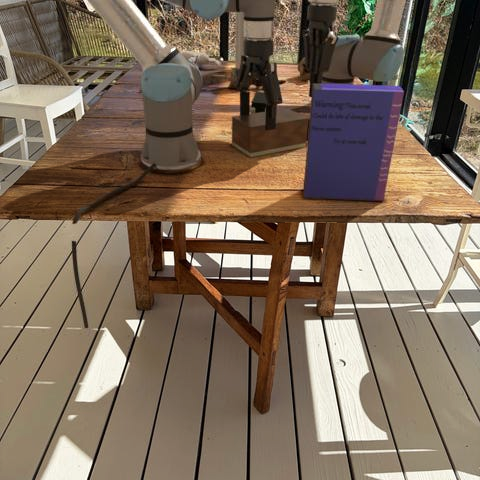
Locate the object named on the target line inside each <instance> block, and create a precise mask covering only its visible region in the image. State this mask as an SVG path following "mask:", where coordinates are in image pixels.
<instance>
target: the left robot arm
mask: <svg viewBox="0 0 480 480" xmlns="http://www.w3.org/2000/svg"><path fill="white" fill-rule="evenodd" d="M86 1H87V2H88V3H89V4H90V6H91V7H92V8H93V10H94V11H95V12H96V13H97V14H98V16H99V17H100V18H101V19H102V20H103V21H104V23H105V24H106V26H107V27H109V29H110V31H112V32H113V33H114V35H115V36H116V37H117V38H118V40H119V41H120V43H122V44H123V45H124V47H125V48H126V50H127V51H128V52H129V53H130V54H131V55H132V57H133V58H134V59H135V60H136V61H137V63H138V64H139V65H140V66H141V69H142V72H141V77H140V78H141V79H140V81H141V82H140V90H141V94H142V105H143V115H144V125H145V138H144V142H143V146H142V150H141V154H140V162H141V166H142V168H144V169H145V170H144V171H143V172H142V173H141V174H140V175H139V176H138V177H137V178H136V179H135V180H133V181H131V182H130V183H127V184H125V185H123V186H119V187H117V188H115V189H113V190H111V191H109V192H108V193H106V194H105V195H103V196H102V197H100V198H98V199H97V200H96V201H94V202H92V203H90V204H88V205H85V206H83V207H81V208H80V209H79V210H78V211H77V212H76V214H75V216H74V217H73V221H72V225H76V224H77V223H78V222H79V219H80V218H81V216H82V215H83V213H85V212H87V211H88V210H91V209H93V208H95V207H98V206H99V205H100V204H102V203H103V202H104V201H106V200H107V199H109V198H111V197H112V196H114V195H116V194H118V193H120V192H123V191H125V190H127V189H130V188H132V187H135V186H136V185H137V184H139V183H140V182H141V181H142V180H143V179H144V178H145V177H146V176H147V175H148V174H149V173H150V172H151V173H156V174H163V175H164V174H165V175H169V174H170V175H172V174H173V175H175V174H182V173H187V172H190V171H193V170H195V169H197V168H198V167H199V166H201V163H202V154H201V151H200V149H199V146H198V143H197V141H196V137H195V135H194V130H193V129H194V126H193V105H194V104H195V103H196V101H197V100H198V99H199V97H200V95H201V93H202V89H203V76H202V73H201V71H200V69H199V67H197V64H196V63H195V64H194V63H193V62H192V61H190V60H188V59H185V57H184V56H183V55H182V54H181V52H182V51H180V50H179V48H178V47H177V46H175V45H169V44H167V42H165V40H164V39H163V37H162V36H161V35H160V34H159V33H158V31H157V30H156V29H155V28H154V26H153V24H151V22H150V21H149V20H148V18H147V17H146V16H145V15H144V13H142V10H140V9H139V7H138V6H137V5H136V3H135V2H134V0H86ZM159 1H161V2H163V3H166V4H169V5H172V6H174V7H177V8H180V9H183V10H186V11H188V12H190V13H193V14H195V15H196V16H197V17H198V18H199V19H202V20H205V21H213V20H216V19H217V18H220V17H221V16H222V15H223V14H225V13H236V12H244V34H243V36H244V37H245V38H246V39H245V40H244V55H242V56H241V64H240V68H239V72H238V76H237V80H236V84H235V87H236V88H235V89H237V90H238V92H239V115H246V114H250V111H251V92H250V91H251V89H250V87H251V86H252V85H251V84H252V82H253V80H254V78H255V77H256V78H257V79H258V81H259V82H261V85H262V86H261V89H262V90H263V91H262V92H264V94H265V96H266V99H267V102H268V103H267V104H266V119H265V130H273V129H276V113H277V110H278V105H281V104H283V96H282V91H281V87H280V86H281V85H279V81H278V80H279V76H278V66H277V65H278V64H277V62H270V63H269V57H270V56H273V55H274V45H275V43H274V40H273V39H272V38H274V35H275V29H274V28H275V9H276V0H159ZM270 58H271V57H270ZM77 252H78V251H77V241H76V240H71V257H72V269H73V276H74V282H75V287H76V292H77V298H78V302H79V306H80V311H81V315H82V321H83V327H84V329H88V328H89V322H88V317H87V316H88V315H87V311H86V304H85V301H84V296H83V291H82V287H81V281H80V273H79V265H78V255H77Z"/></svg>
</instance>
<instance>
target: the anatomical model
mask: <svg viewBox="0 0 480 480" xmlns="http://www.w3.org/2000/svg"><path fill="white" fill-rule="evenodd" d="M309 64H310V63H309ZM297 71H298V72H299V76H300V77H301V79H302V81H306V82H308V80H310V71H309V69H308V68H306V67H305V56H304V57H303V58H301V60H300V61H299V62H298V64H297Z"/></svg>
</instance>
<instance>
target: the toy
mask: <svg viewBox="0 0 480 480" xmlns="http://www.w3.org/2000/svg"><path fill="white" fill-rule="evenodd" d="M180 52H181V54H182V55H183V56H184V57H185V59H188V60H190V61H192V62H193V63H194V64H195V65H196V66H198V68H200V69H201V68H204V65H209V64H210V63H211V64H215V65H216V66H218V67H220V66H222V63H221V62H220V61H219V60H218V59H217V58H210V56H209V55H208V54H206V53H204V52H203V51H199V52H198V53H197V52H194V51H191V50H185V51H180Z"/></svg>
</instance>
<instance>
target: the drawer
mask: <svg viewBox="0 0 480 480" xmlns="http://www.w3.org/2000/svg"><path fill="white" fill-rule="evenodd" d="M293 111H294V112H296V113H298V114H300V115H303V116H305V117H307V118H308V127H307V139H306V142H308V131H309V120H310V114H309V115H308V116H306V115H304V114H302V113H300V112H298V111H296V110H293Z"/></svg>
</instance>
